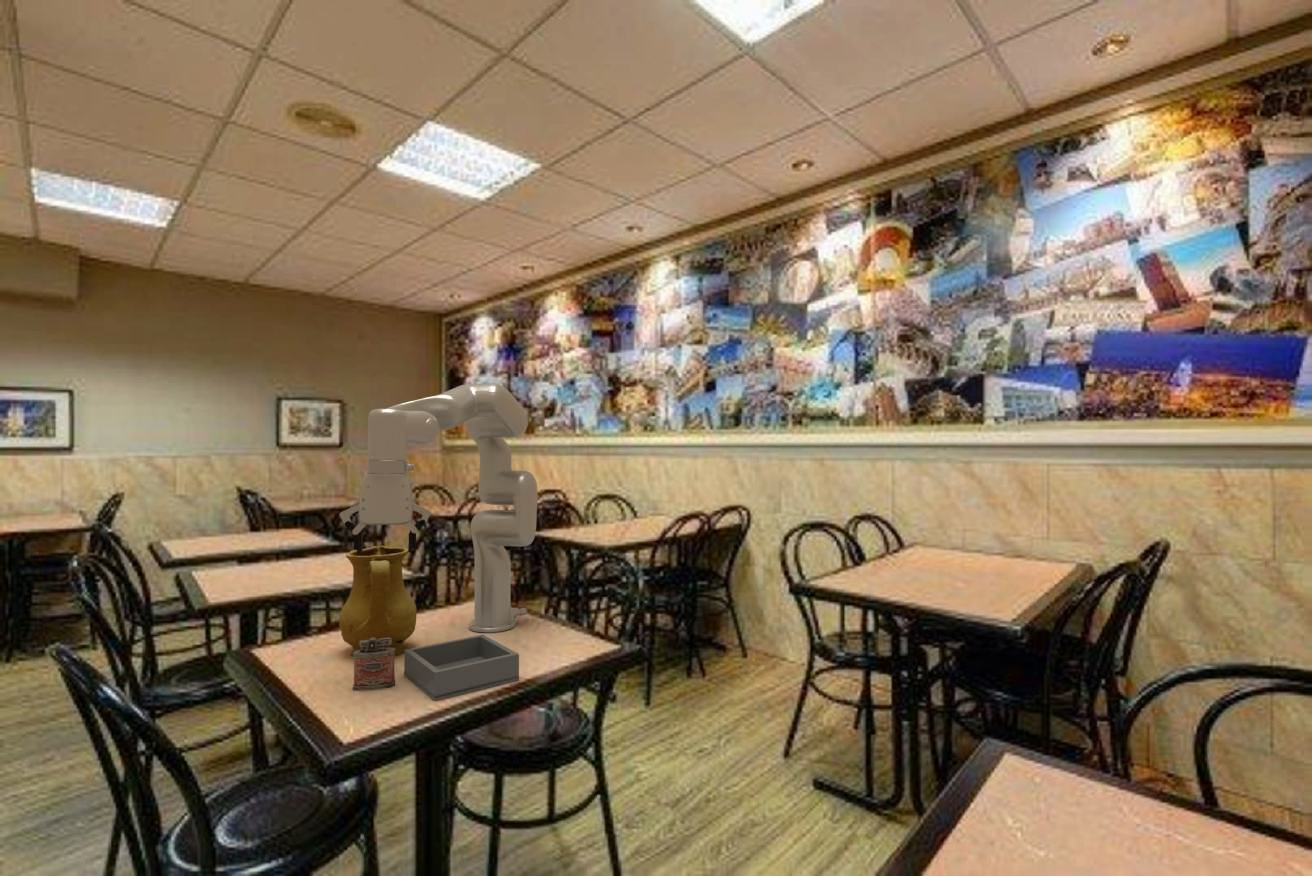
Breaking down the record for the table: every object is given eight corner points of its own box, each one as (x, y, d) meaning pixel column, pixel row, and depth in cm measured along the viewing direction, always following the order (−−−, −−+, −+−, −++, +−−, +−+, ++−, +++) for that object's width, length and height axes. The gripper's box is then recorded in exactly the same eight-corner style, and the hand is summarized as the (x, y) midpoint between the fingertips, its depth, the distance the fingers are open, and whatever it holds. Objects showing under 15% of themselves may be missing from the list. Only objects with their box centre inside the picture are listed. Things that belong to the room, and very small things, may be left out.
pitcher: (430, 639, 167) (425, 541, 166) (394, 668, 148) (388, 558, 147) (366, 639, 169) (360, 542, 167) (322, 667, 150) (316, 559, 149)
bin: (483, 658, 153) (483, 634, 154) (518, 680, 139) (519, 654, 139) (404, 675, 142) (404, 649, 142) (434, 701, 128) (434, 672, 128)
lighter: (351, 692, 133) (351, 642, 133) (354, 686, 136) (354, 637, 136) (394, 688, 135) (394, 639, 135) (396, 682, 138) (396, 634, 138)
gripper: (431, 469, 142) (430, 549, 141) (343, 468, 136) (341, 552, 136) (431, 469, 134) (429, 554, 134) (338, 469, 129) (336, 557, 129)
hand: (385, 552), depth 135 cm, fingers open, 9 cm apart
